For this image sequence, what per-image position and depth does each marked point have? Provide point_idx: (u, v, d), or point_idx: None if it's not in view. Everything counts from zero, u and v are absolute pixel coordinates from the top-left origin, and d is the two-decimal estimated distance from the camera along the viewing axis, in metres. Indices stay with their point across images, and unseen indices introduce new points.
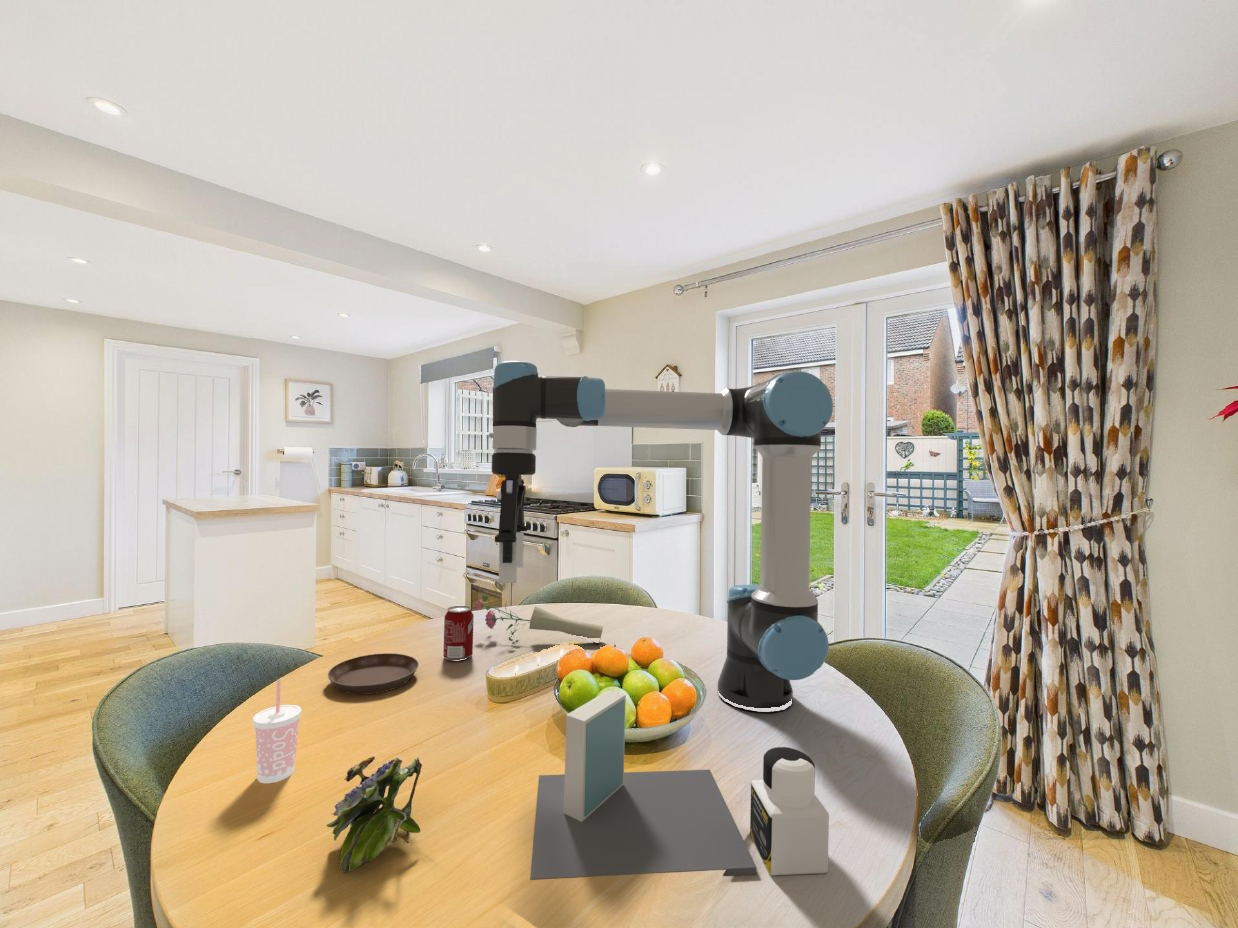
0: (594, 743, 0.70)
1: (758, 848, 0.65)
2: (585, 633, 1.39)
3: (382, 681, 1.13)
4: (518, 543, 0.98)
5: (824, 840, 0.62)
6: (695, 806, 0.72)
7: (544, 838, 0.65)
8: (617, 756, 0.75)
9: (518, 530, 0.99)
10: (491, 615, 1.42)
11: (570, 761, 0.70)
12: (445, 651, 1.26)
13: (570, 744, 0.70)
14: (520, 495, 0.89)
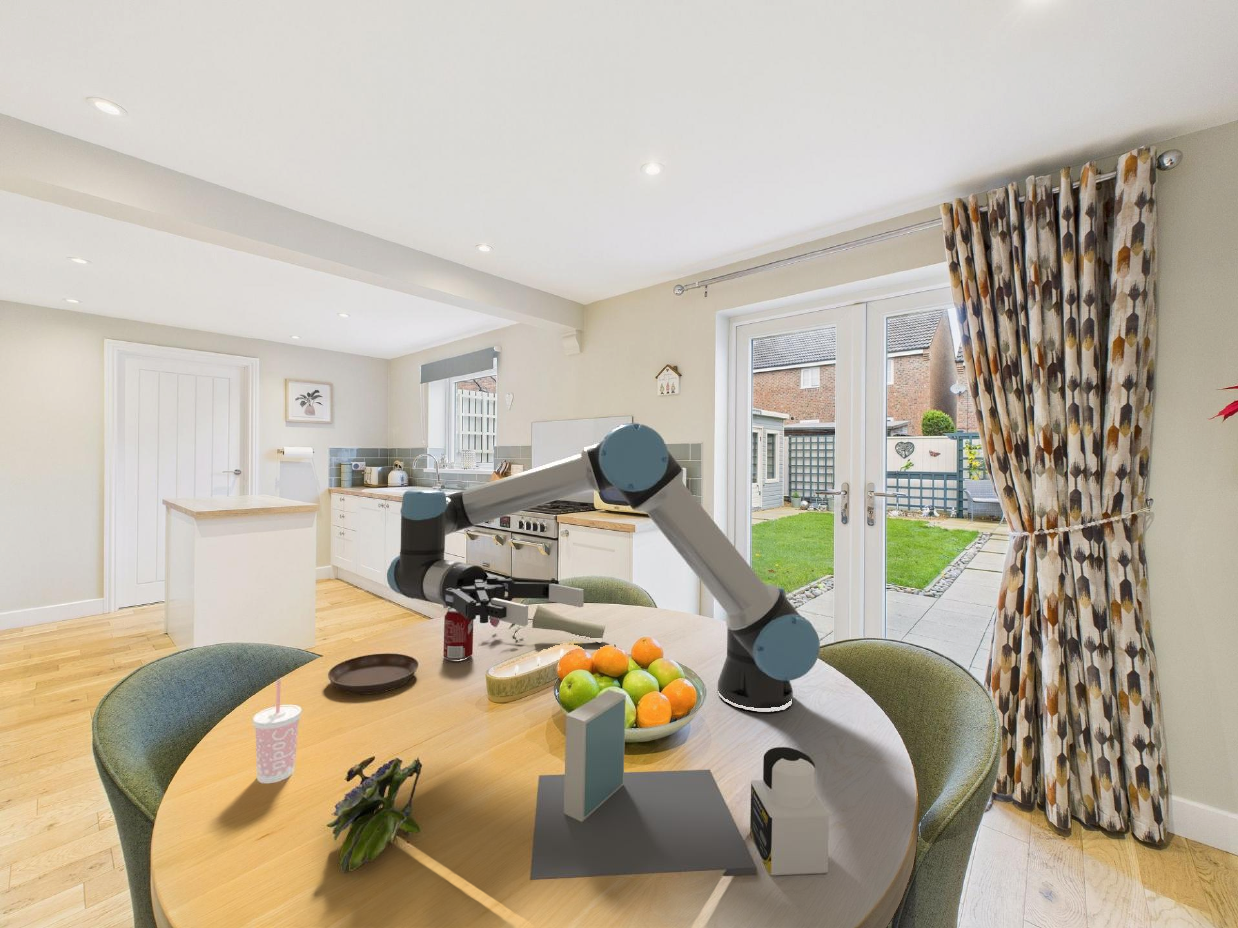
0: (594, 743, 0.70)
1: (758, 848, 0.65)
2: (587, 633, 1.40)
3: (382, 681, 1.13)
4: (558, 591, 0.85)
5: (824, 840, 0.62)
6: (695, 806, 0.72)
7: (544, 838, 0.65)
8: (617, 756, 0.75)
9: None
10: None
11: (570, 761, 0.70)
12: (445, 651, 1.26)
13: (570, 744, 0.70)
14: (475, 585, 0.83)
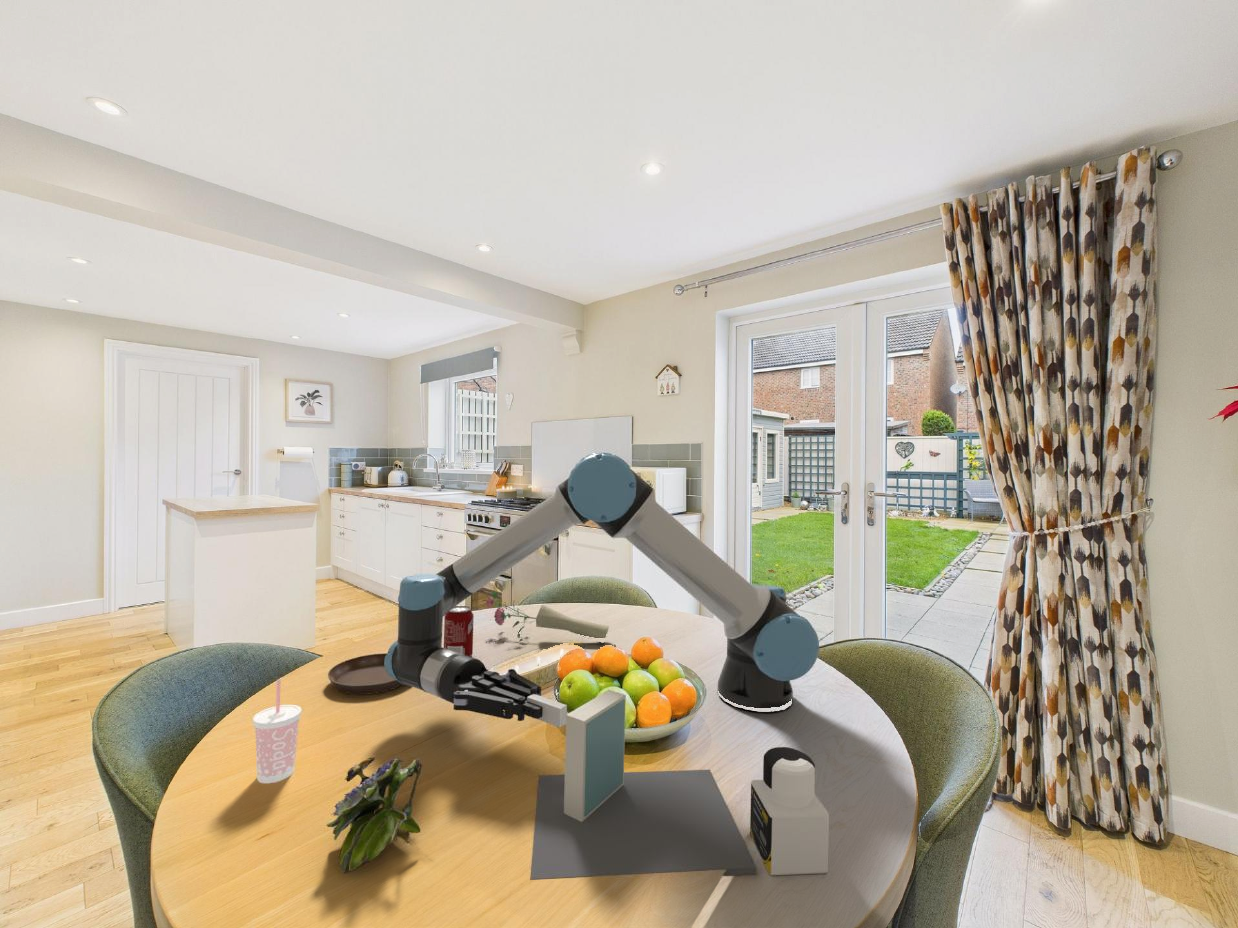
0: (594, 743, 0.70)
1: (758, 848, 0.65)
2: (589, 633, 1.40)
3: (382, 681, 1.13)
4: None
5: (824, 840, 0.62)
6: (695, 806, 0.72)
7: (544, 838, 0.65)
8: (617, 756, 0.75)
9: None
10: (500, 612, 1.45)
11: (570, 761, 0.70)
12: None
13: (570, 744, 0.70)
14: (480, 683, 0.84)
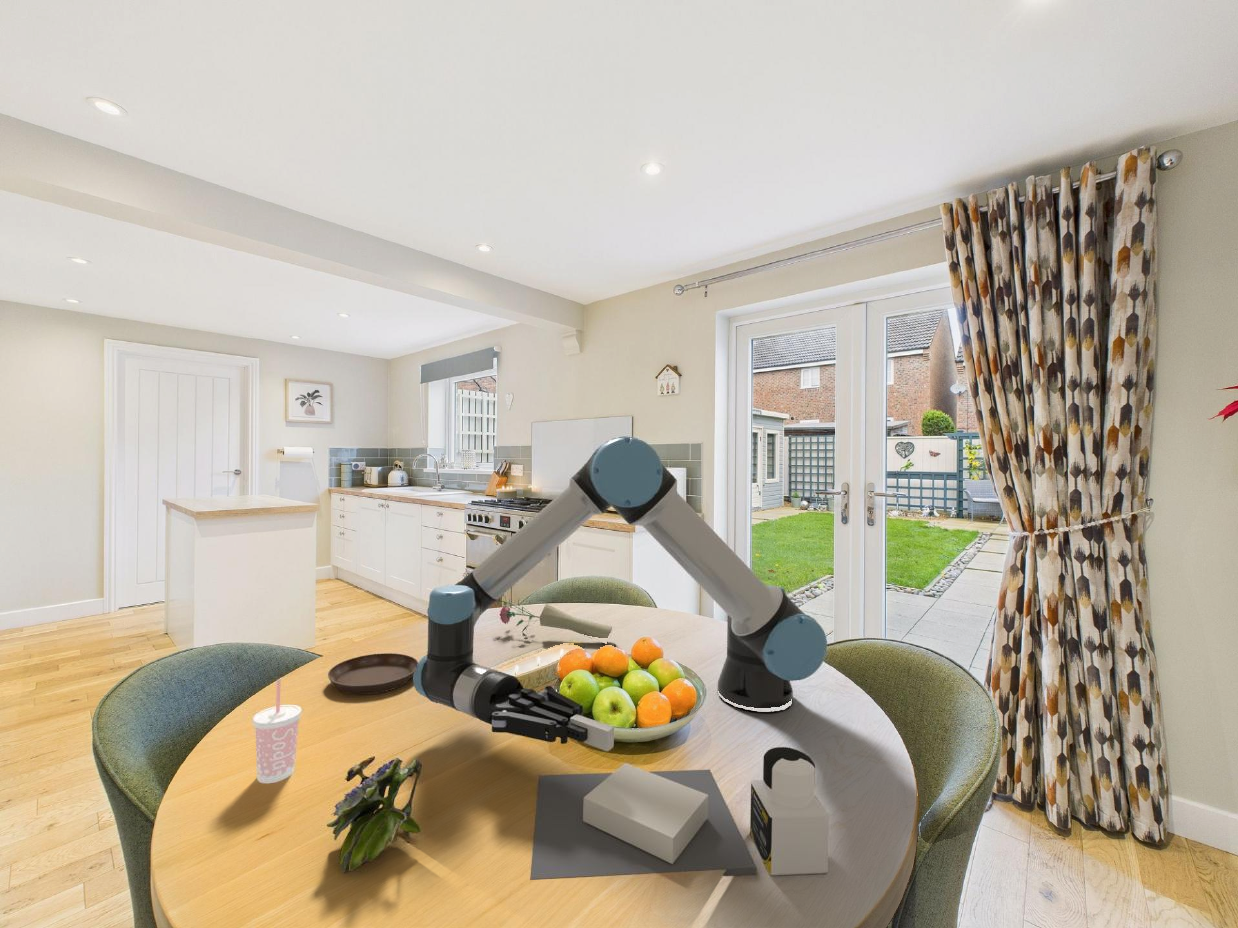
0: None
1: (758, 848, 0.65)
2: (592, 633, 1.40)
3: (382, 681, 1.13)
4: None
5: (824, 840, 0.62)
6: None
7: (544, 838, 0.65)
8: None
9: None
10: (505, 610, 1.47)
11: (629, 825, 0.65)
12: None
13: (645, 832, 0.63)
14: (518, 703, 0.79)
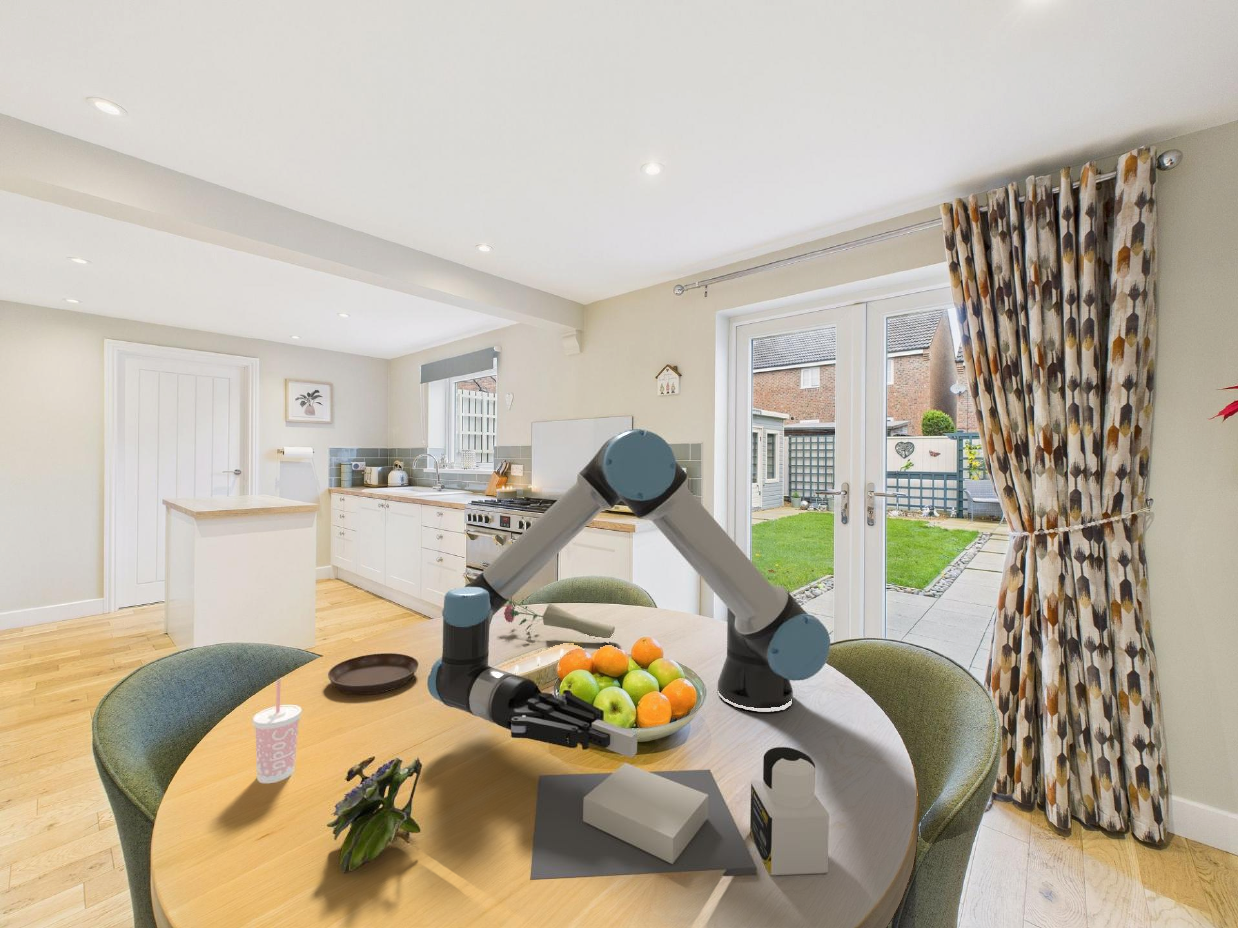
0: None
1: (758, 848, 0.65)
2: (594, 633, 1.40)
3: (382, 681, 1.13)
4: None
5: (824, 840, 0.62)
6: None
7: (544, 838, 0.65)
8: None
9: None
10: (509, 609, 1.48)
11: (629, 825, 0.65)
12: None
13: (645, 832, 0.63)
14: (537, 708, 0.77)
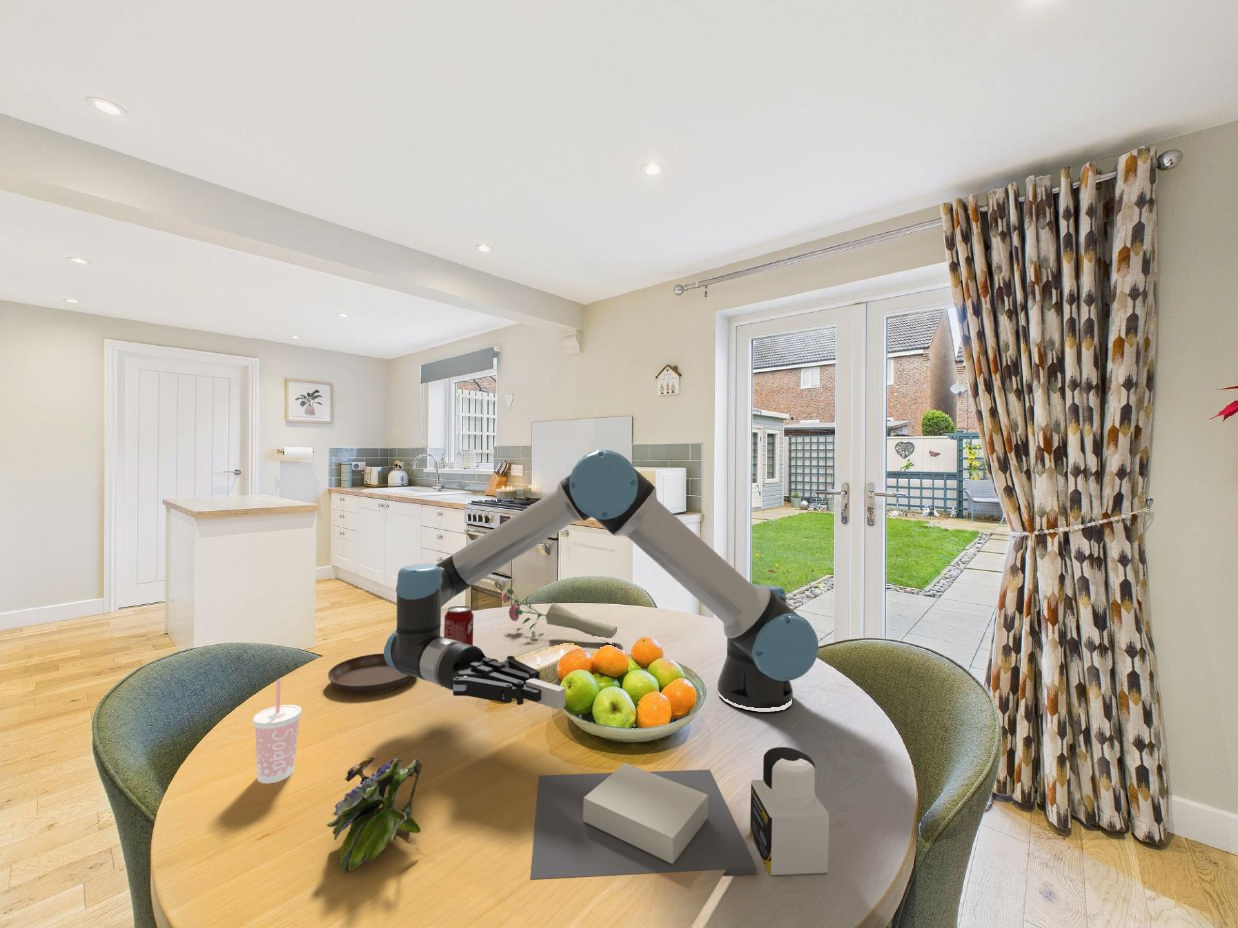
0: None
1: (758, 848, 0.65)
2: (596, 633, 1.40)
3: (382, 681, 1.13)
4: None
5: (824, 840, 0.62)
6: None
7: (544, 838, 0.65)
8: None
9: None
10: (514, 608, 1.49)
11: (629, 825, 0.65)
12: None
13: (645, 832, 0.63)
14: (479, 669, 0.84)
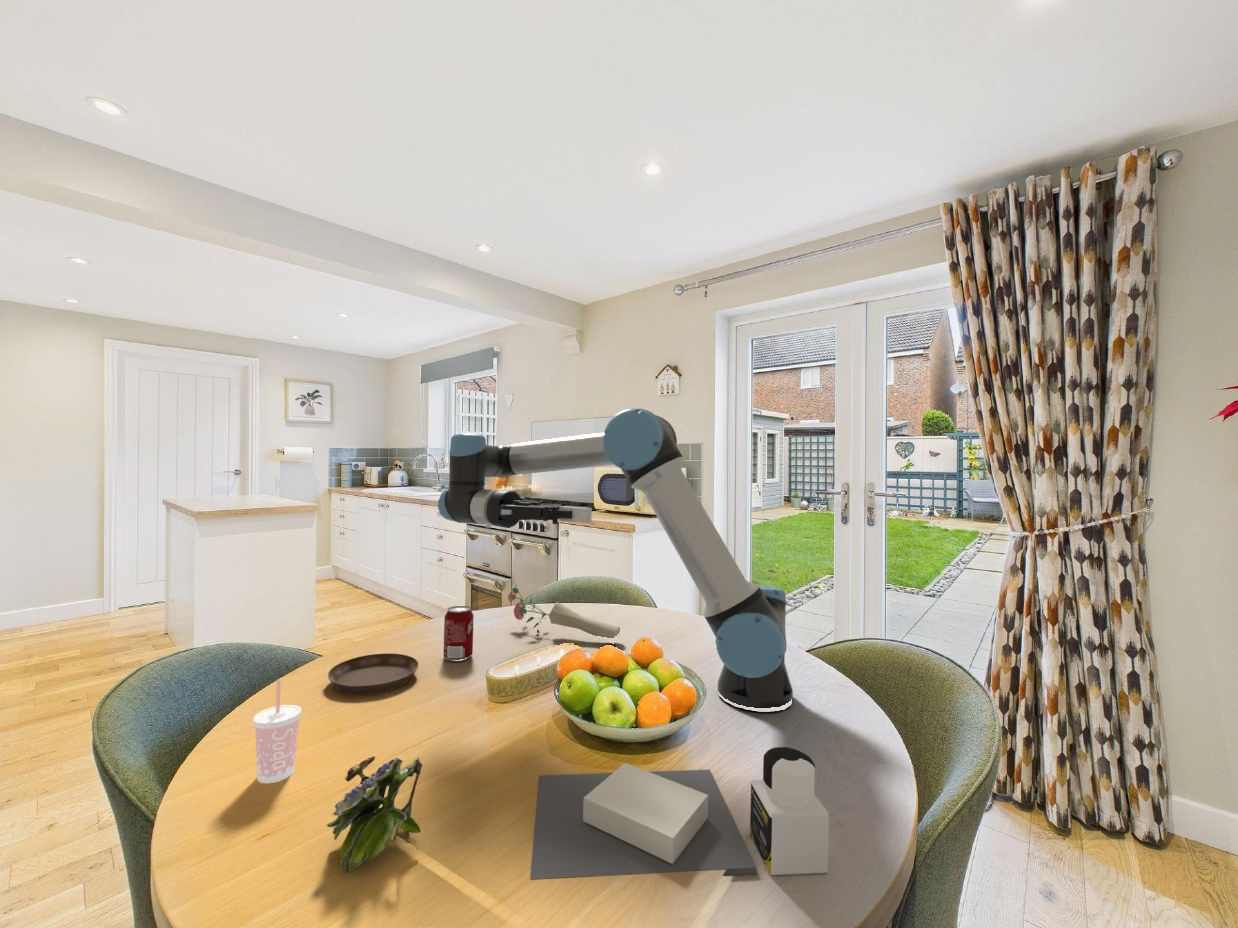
0: None
1: (758, 848, 0.65)
2: (599, 633, 1.40)
3: (382, 681, 1.13)
4: None
5: (824, 840, 0.62)
6: None
7: (544, 838, 0.65)
8: None
9: None
10: (519, 607, 1.51)
11: (629, 825, 0.65)
12: (445, 651, 1.26)
13: (645, 832, 0.63)
14: (520, 503, 1.05)
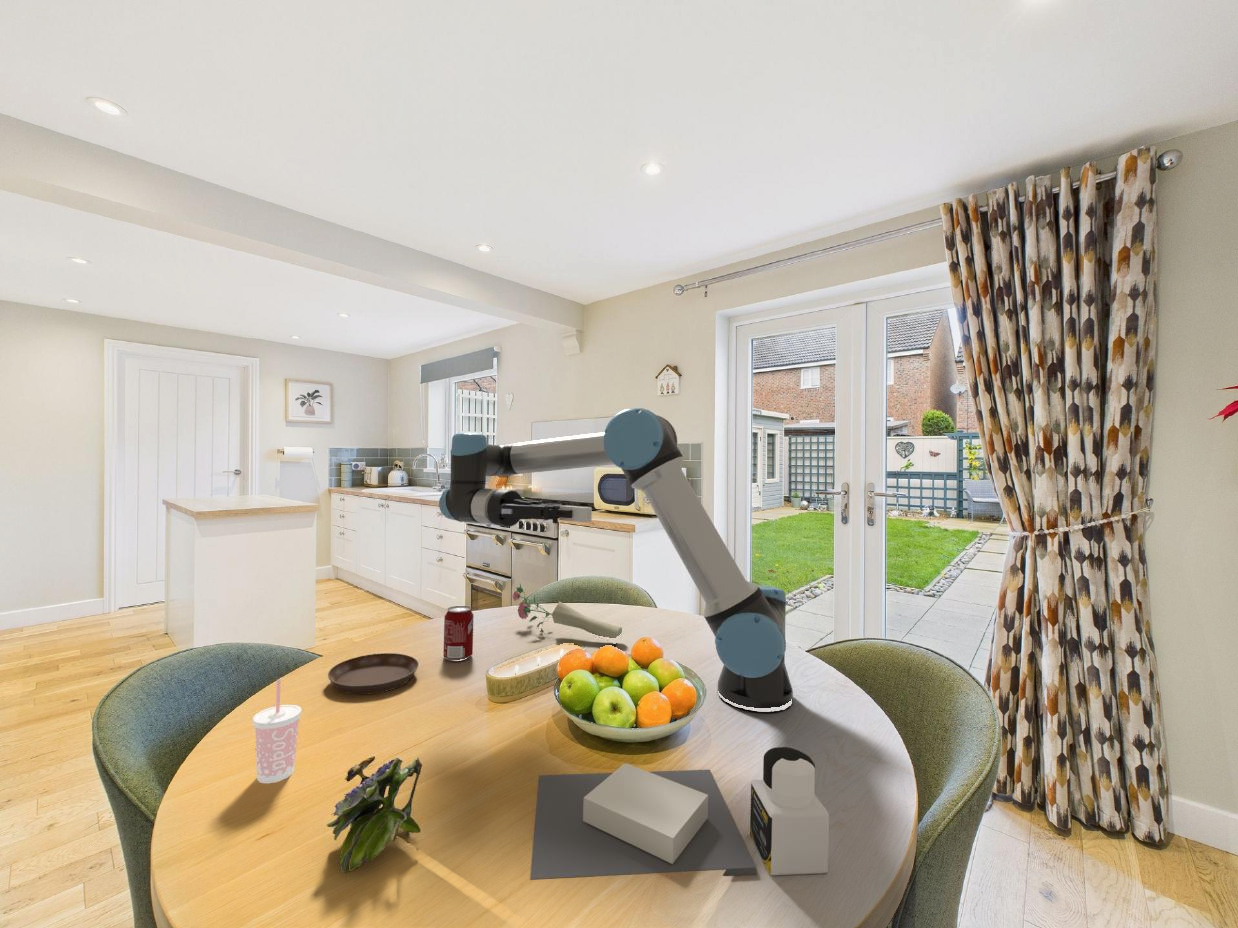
0: None
1: (758, 848, 0.65)
2: (601, 633, 1.40)
3: (382, 681, 1.13)
4: None
5: (824, 840, 0.62)
6: None
7: (544, 838, 0.65)
8: None
9: None
10: (523, 606, 1.52)
11: (629, 825, 0.65)
12: (445, 651, 1.26)
13: (645, 832, 0.63)
14: (521, 502, 1.05)
